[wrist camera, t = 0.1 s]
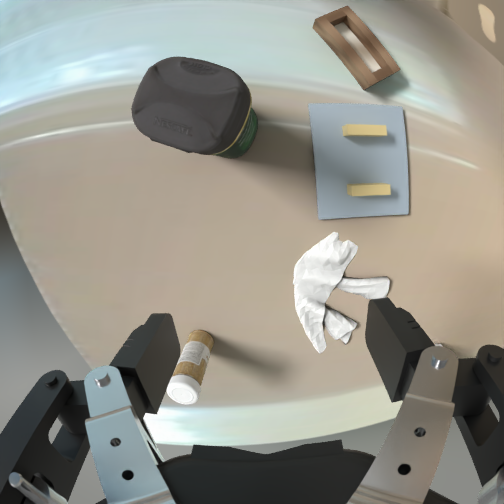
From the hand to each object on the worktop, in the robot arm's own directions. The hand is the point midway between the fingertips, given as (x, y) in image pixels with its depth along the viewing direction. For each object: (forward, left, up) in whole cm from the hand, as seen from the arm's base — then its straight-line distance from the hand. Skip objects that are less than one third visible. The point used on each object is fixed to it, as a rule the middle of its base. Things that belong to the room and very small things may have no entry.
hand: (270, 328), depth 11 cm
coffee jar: (-12, -5, -29) cm, 32 cm away
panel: (-6, +14, -29) cm, 33 cm away
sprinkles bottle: (+21, -13, -29) cm, 39 cm away
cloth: (+16, +11, -30) cm, 36 cm away
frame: (-23, +15, -29) cm, 40 cm away
